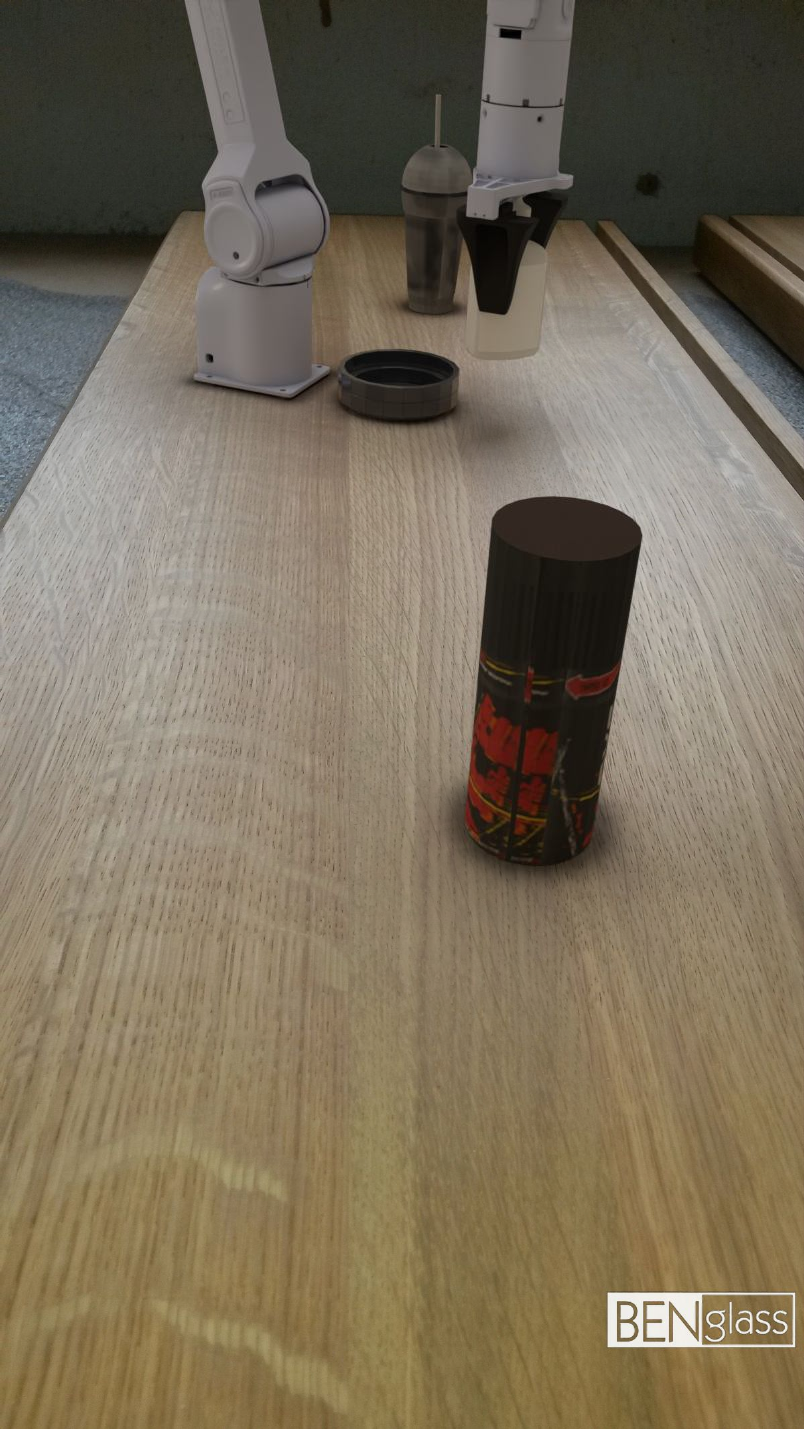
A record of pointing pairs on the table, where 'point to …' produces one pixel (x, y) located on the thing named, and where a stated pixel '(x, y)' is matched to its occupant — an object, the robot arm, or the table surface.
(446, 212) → the beverage cup
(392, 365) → the dish
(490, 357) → the eye dropper bottle
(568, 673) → the deodorant
